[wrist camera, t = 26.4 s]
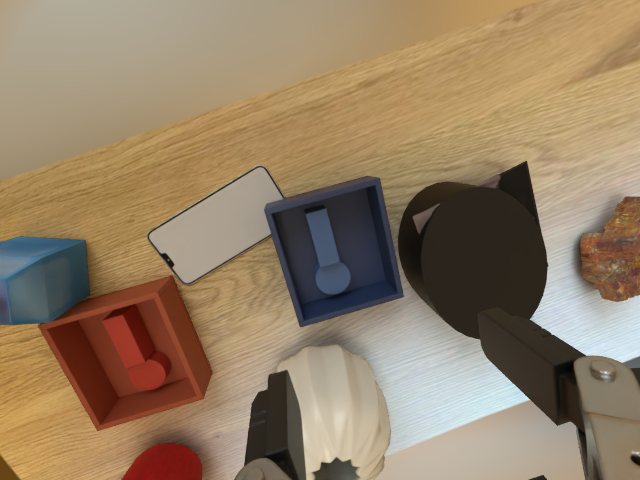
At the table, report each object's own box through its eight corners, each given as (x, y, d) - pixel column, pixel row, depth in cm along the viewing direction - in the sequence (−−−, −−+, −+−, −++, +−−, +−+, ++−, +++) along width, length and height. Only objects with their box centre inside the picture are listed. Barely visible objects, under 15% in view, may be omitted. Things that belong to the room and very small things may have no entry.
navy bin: (265, 203, 34) (263, 209, 30) (367, 175, 35) (379, 177, 31) (298, 308, 38) (300, 327, 34) (390, 281, 38) (404, 297, 34)
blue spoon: (295, 212, 34) (297, 216, 32) (330, 202, 35) (334, 205, 32) (318, 292, 37) (321, 302, 34) (350, 283, 37) (356, 292, 35)
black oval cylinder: (423, 327, 42) (456, 364, 35) (376, 208, 36) (405, 224, 29) (519, 279, 42) (570, 306, 35) (488, 153, 36) (543, 155, 29)
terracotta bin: (68, 304, 35) (37, 325, 30) (172, 275, 35) (157, 291, 31) (118, 400, 38) (97, 431, 34) (212, 372, 39) (203, 399, 34)
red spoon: (107, 310, 35) (92, 323, 32) (142, 300, 35) (131, 312, 32) (143, 383, 37) (132, 401, 35) (176, 374, 38) (168, 390, 35)
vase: (345, 313, 39) (377, 388, 26) (385, 396, 42) (431, 498, 30) (244, 360, 39) (226, 460, 26) (293, 439, 42) (298, 561, 30)
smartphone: (299, 220, 35) (185, 288, 35) (298, 218, 36) (187, 286, 36) (263, 160, 33) (142, 234, 33) (263, 161, 34) (144, 232, 34)
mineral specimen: (566, 225, 37) (647, 220, 32) (584, 197, 41) (659, 188, 36) (587, 306, 41) (664, 315, 35) (602, 273, 44) (673, 276, 39)
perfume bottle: (89, 294, 35) (-8, 361, 23) (26, 292, 34) (-107, 360, 22) (85, 240, 33) (-21, 282, 22) (19, 236, 32) (-127, 278, 21)
